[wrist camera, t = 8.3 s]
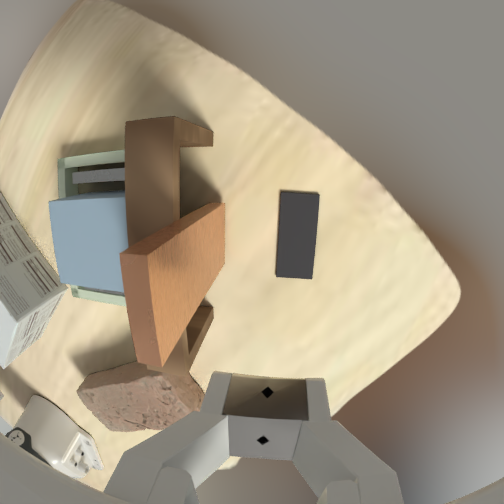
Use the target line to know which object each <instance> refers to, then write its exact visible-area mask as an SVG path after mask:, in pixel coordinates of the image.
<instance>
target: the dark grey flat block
mask: <svg viewBox="0 0 504 504" xmlns="http://www.w3.org/2000/svg"><path fill="white" fill-rule="evenodd" d="M318 210H319V195H317V194H304V193H288V192H281V204H280V223H279V241H278V258H277V274H276V277H285V278H301V279H312V275H313V265H314V256H315V245H316V234H317V223H318Z"/></svg>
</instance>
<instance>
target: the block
mask: <svg viewBox="0 0 504 504" xmlns="http://www.w3.org/2000/svg"><path fill="white" fill-rule="evenodd" d="M49 211H50V221H51V229H52V236H53V243H54V250H55V256H56V262H57V267H58V272H59V277H60V282H61V283H64V284H70V285H76V286H83V287H90V288H96V289H103V290H110V291H118V292H124V288H123V281H122V273H121V265H120V256H119V253H121V252H122V251H124V250H126V249H127V248H128V236H127V222H126V203H125V190H115V191H98V192H87V193H83V194H78V195H74V196H70V197H66V198H61V199H57V200H53V201H49Z"/></svg>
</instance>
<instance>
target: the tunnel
mask: <svg viewBox="0 0 504 504" xmlns="http://www.w3.org/2000/svg"><path fill="white" fill-rule="evenodd" d="M207 146H213V131H210V130H208V129H205V128H203V127H200V126H198V125H196V124H193V123H191V122H188V121H186V120H183V119H180V118H178V117H175V116H170V117H160V118H150V119H142V120H134V121H127V122H126V126H125V203H126V222H127V236H128V248H129V247H131V246H132V245H134V244H136V243H138V242H139V241H141V240H143V239H145V238H146V237H148V236H150V235H152V234H153V233H155V232H157V231H159V230H160V229H162V228H164V227H166V226H168V225H169V224H171V223H173V222H175V221H177V220H179V219H180V184H179V181H180V147H207ZM213 319H214V317H213V307H207V306H199V307H198V308H197V310H196V312H195V313H194V315H193V317H192V318H191V320H190V322H189V323H188V325H187V327H186V328H185V330H184V332H183V333H182V335H181V337H180V338H179V340H178V342H177V343H176V345H175V347H174V348H173V350H172V352H171V353H170V355H169V357H168V359H167V360H166V362H165V364H164V365H163V367H157V366H153V365H148V364H147V369H149V370H154V371H159V372H164V373H169V374H174V375H179V376H185V377H186V376H187V374H188V372H189V370H190V368H191V366H192V364H193V361H194V359H195V357H196V355H197V353H198V351H199V348H200V346H201V344H202V342H203V340H204V338H205V336H206V333H207V331H208V329H209V327H210V325H211V323H212V321H213Z"/></svg>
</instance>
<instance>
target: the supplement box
mask: <svg viewBox="0 0 504 504" xmlns="http://www.w3.org/2000/svg"><path fill="white" fill-rule="evenodd" d="M67 289H68V287H67V286H66V285H65V284H64V283H61V282H60V277H59V276H58V275H57V273H56V272H55V271H54V270H53V268H52V267H51V266H50V265H49V263H48V262H47V261H46V259H45V258H44V257H43V255H42V254H41V253H40V251H39V250H38V249H37V247H36V246H35V244H34V243H33V242H32V240H31V239H30V237H29V236H28V234H27V233H26V232H25V230H24V229H23V227H22V226H21V224H20V223H19V221H18V220H17V218H16V216H15V215H14V213H13V212H12V210H11V209H10V207H9V205H8V204H7V202H6V200H5V199H4V197H3V195H2V193H1V192H0V366H1V367H2V368H3V369H5V368H6V367H7V366H8V365H9V364H10V363H11V362H12V361H13V360H14V359H16V358H17V357H18V356H19V355H20V354H21V353H23V352H24V351H25V350H26V349H27V348H28V347H30V346H31V345H32V344H33V343H34V342H36V341H37V340H38V339H39V338H40V337H41V336H42V335H43V333H44V331H45V329H46V327H47V325H48V323H49V321H50V319H51V317H52V315H53V314H54V312H55V310H56V308H57V306H58V304H59V303H60V301H61V299H62V297H63V296H64V294H65V292H66V291H67Z"/></svg>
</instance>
